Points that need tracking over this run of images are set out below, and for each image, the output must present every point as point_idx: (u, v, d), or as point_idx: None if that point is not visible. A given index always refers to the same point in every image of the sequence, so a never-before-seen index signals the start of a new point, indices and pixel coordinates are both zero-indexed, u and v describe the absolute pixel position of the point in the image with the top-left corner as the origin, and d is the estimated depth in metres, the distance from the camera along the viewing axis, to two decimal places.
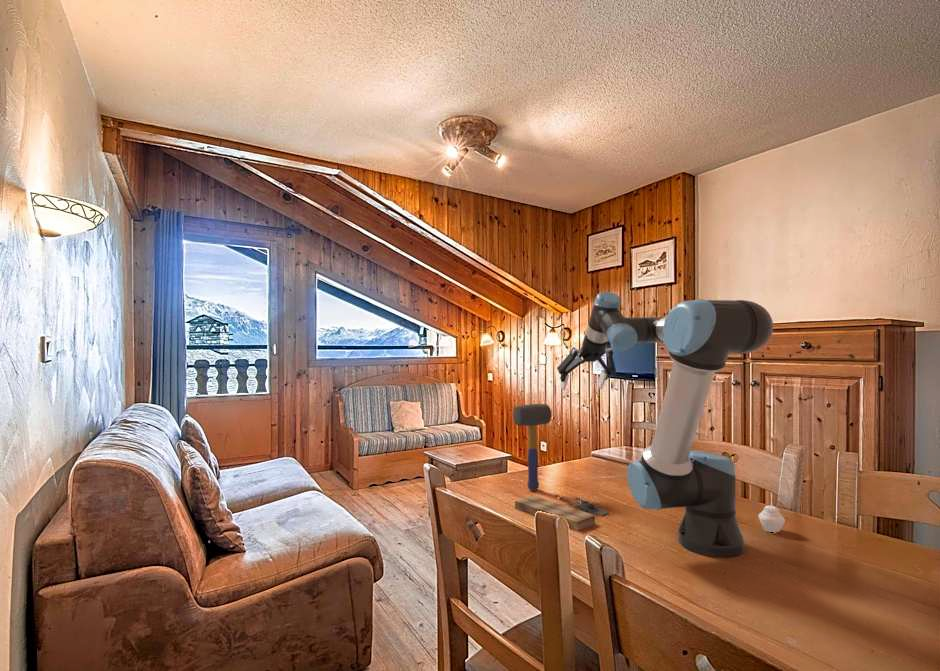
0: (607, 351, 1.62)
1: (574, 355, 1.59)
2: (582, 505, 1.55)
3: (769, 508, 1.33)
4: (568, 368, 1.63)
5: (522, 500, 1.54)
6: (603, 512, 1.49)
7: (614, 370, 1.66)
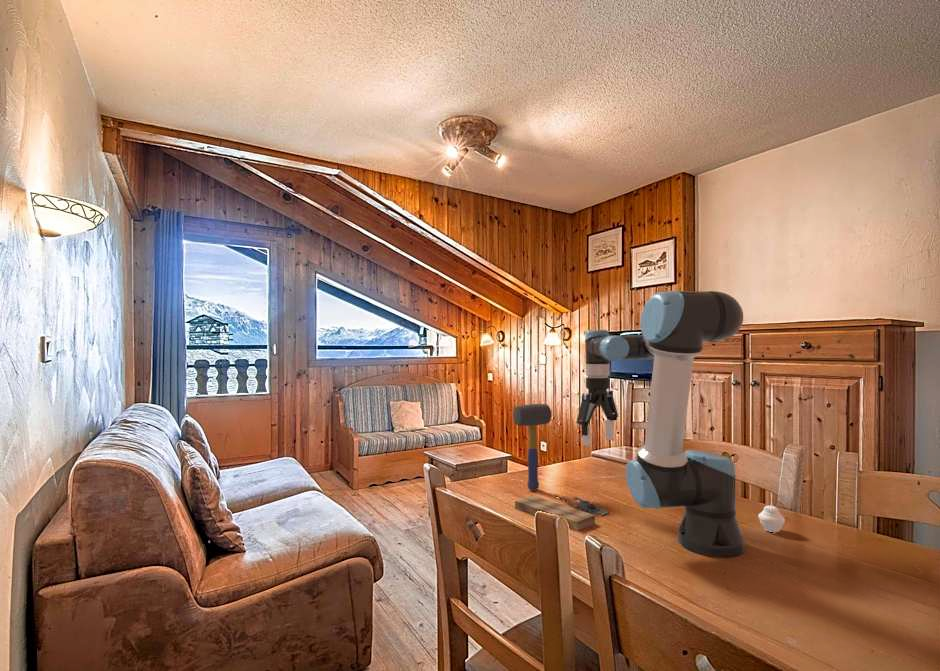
0: (608, 392, 1.65)
1: (588, 398, 1.57)
2: (582, 505, 1.55)
3: (769, 508, 1.33)
4: (587, 417, 1.58)
5: (522, 500, 1.54)
6: (604, 512, 1.49)
7: (617, 414, 1.67)
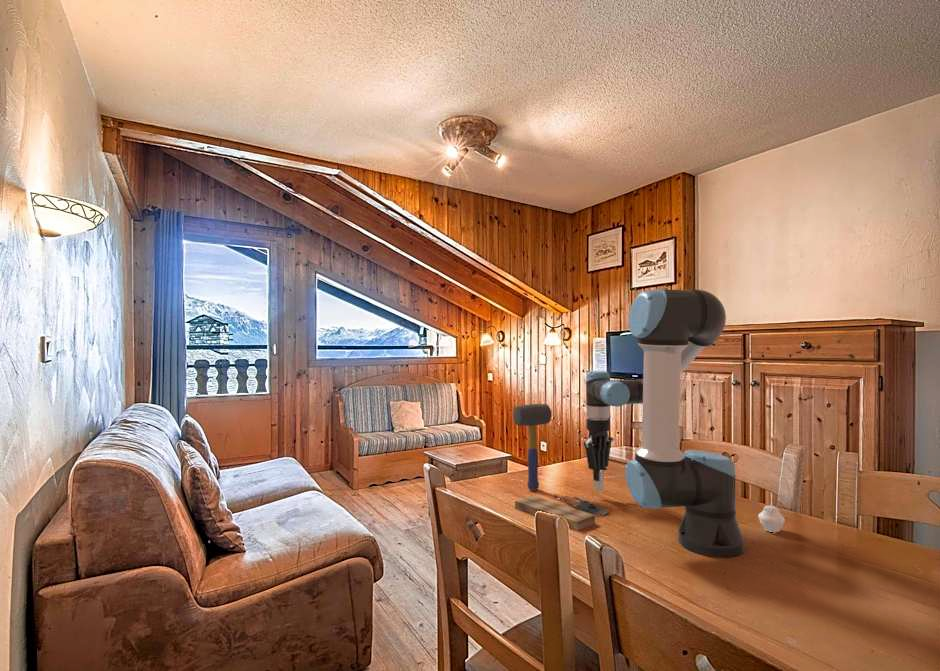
0: (607, 437, 1.65)
1: (591, 446, 1.58)
2: (582, 505, 1.55)
3: (769, 508, 1.33)
4: (596, 463, 1.61)
5: (522, 500, 1.54)
6: (604, 512, 1.49)
7: (607, 464, 1.64)
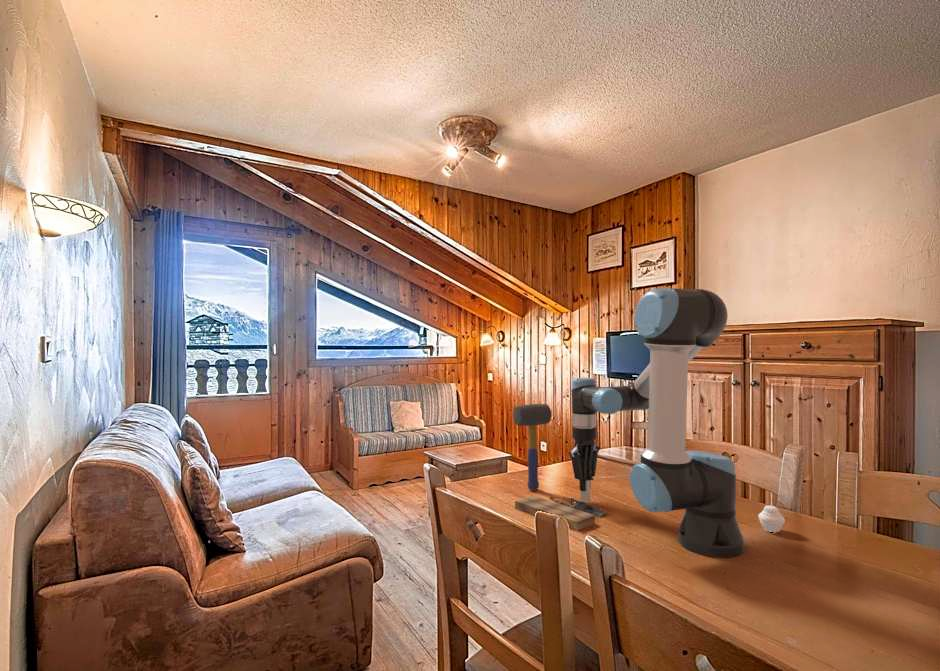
0: (594, 446, 1.60)
1: (577, 456, 1.53)
2: (579, 506, 1.54)
3: (769, 508, 1.33)
4: (582, 473, 1.56)
5: (522, 500, 1.54)
6: (602, 512, 1.48)
7: (594, 473, 1.59)
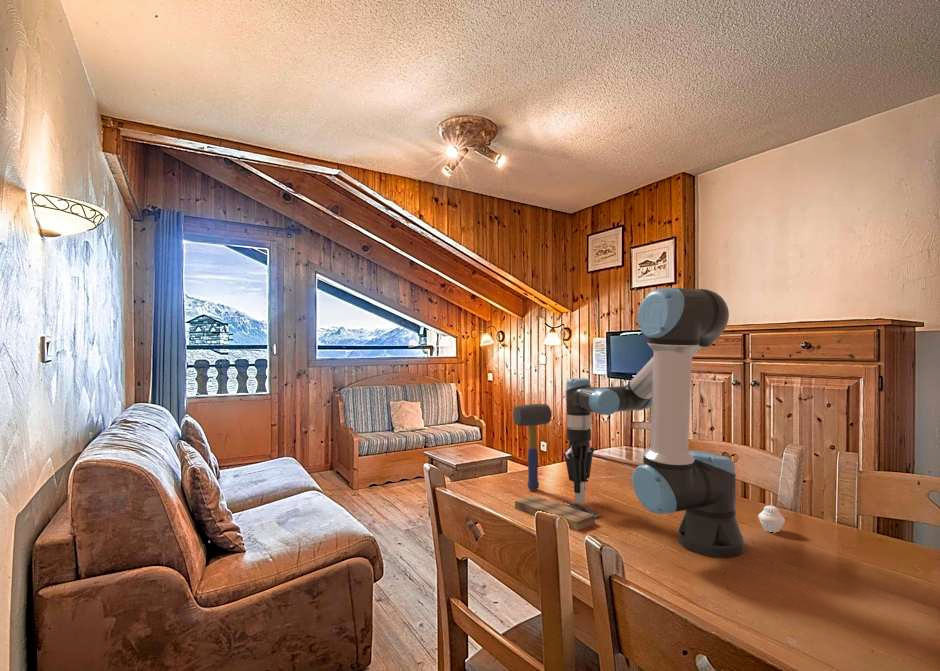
0: (589, 447, 1.58)
1: (571, 457, 1.51)
2: None
3: (769, 508, 1.33)
4: (577, 475, 1.54)
5: (522, 500, 1.54)
6: (596, 515, 1.46)
7: (589, 475, 1.57)
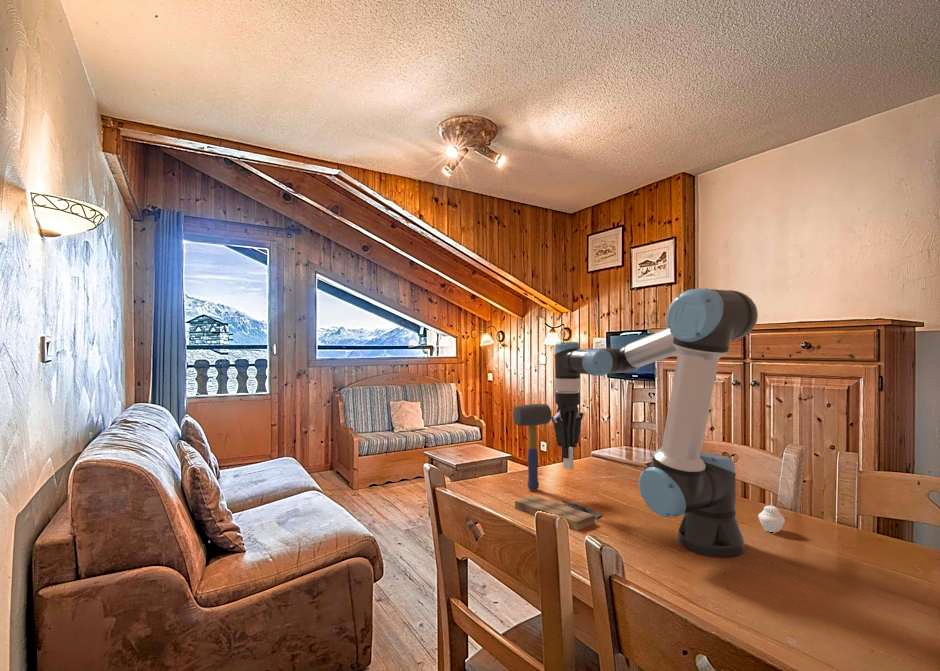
0: (578, 412, 1.55)
1: (559, 421, 1.48)
2: None
3: (769, 508, 1.33)
4: (565, 440, 1.51)
5: (522, 500, 1.54)
6: (597, 514, 1.46)
7: (577, 441, 1.54)
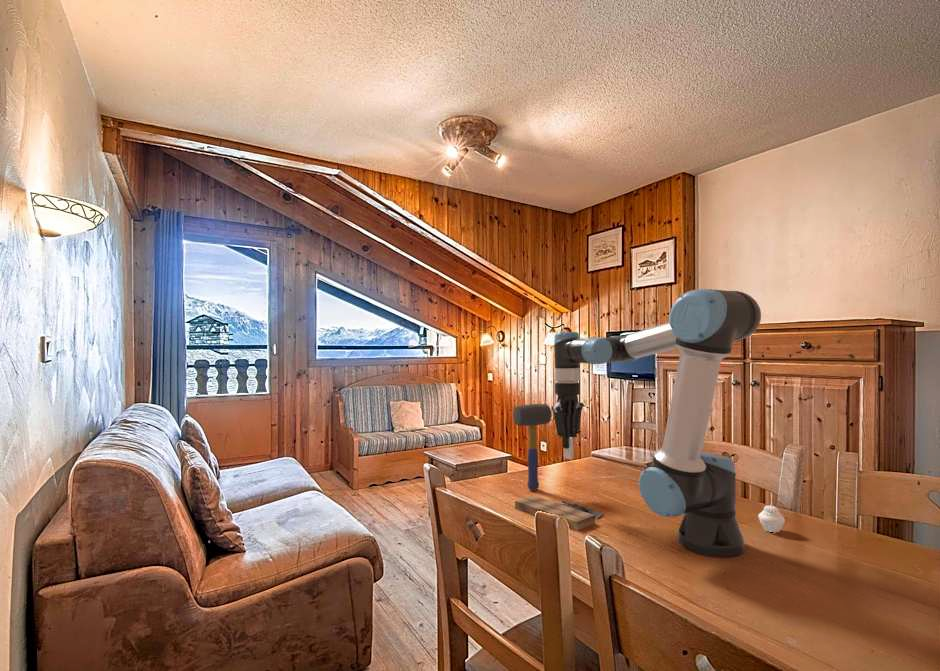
0: (578, 402, 1.55)
1: (559, 411, 1.48)
2: None
3: (769, 508, 1.33)
4: (565, 429, 1.51)
5: (522, 500, 1.54)
6: (598, 514, 1.47)
7: (578, 431, 1.53)
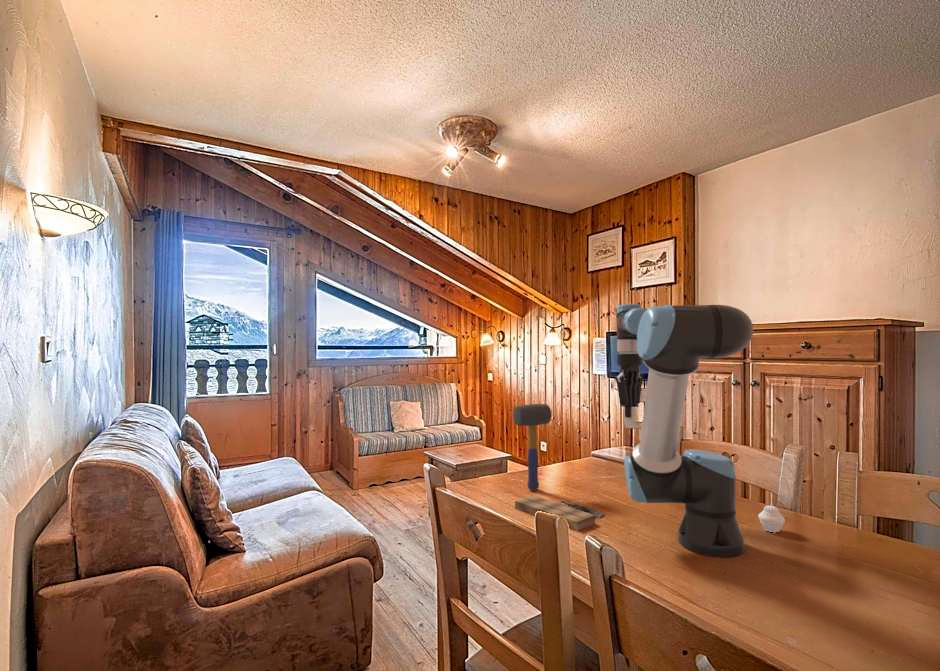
0: (639, 373, 1.59)
1: (623, 380, 1.52)
2: None
3: (769, 508, 1.33)
4: (628, 399, 1.55)
5: (522, 500, 1.54)
6: (599, 514, 1.47)
7: (639, 401, 1.58)
